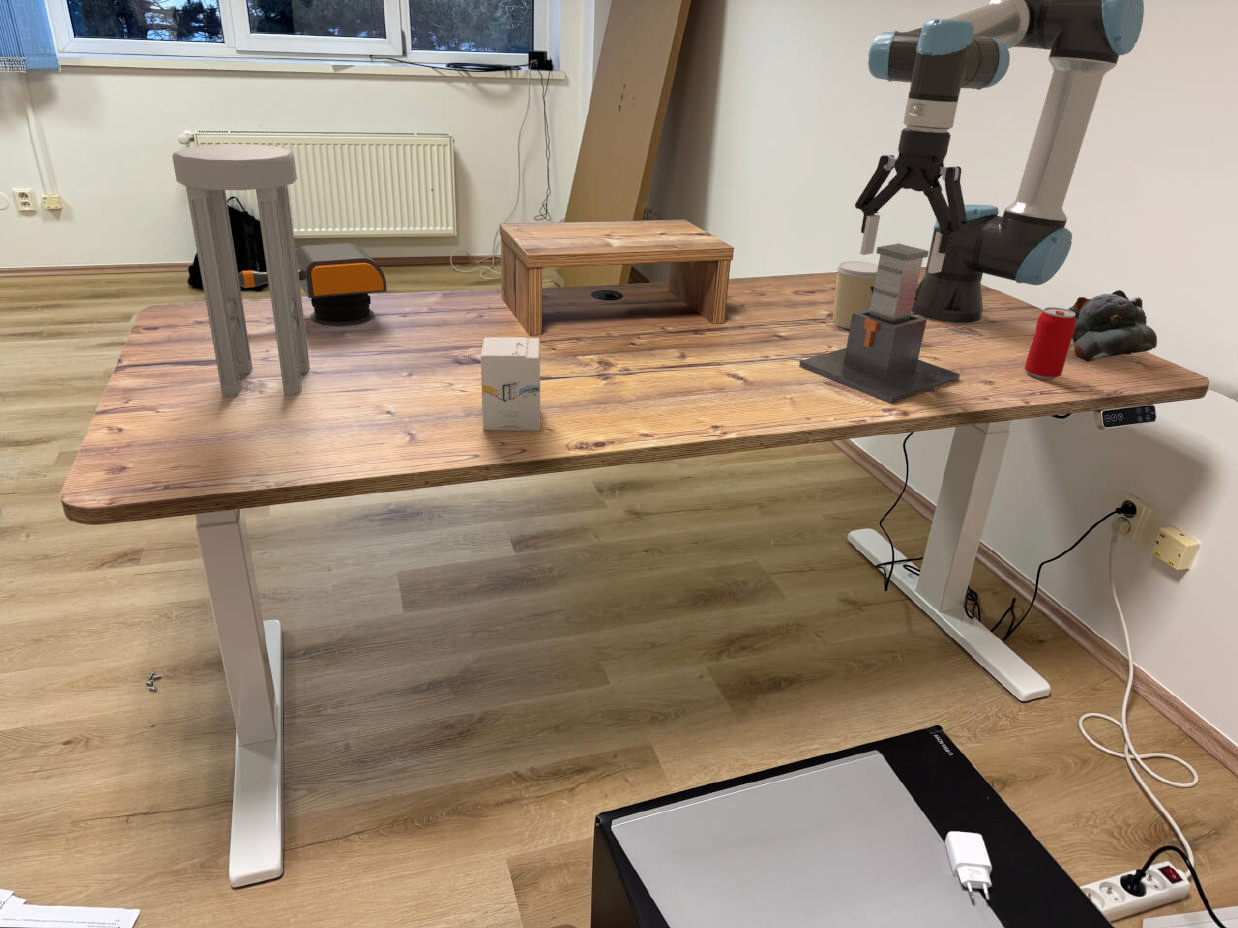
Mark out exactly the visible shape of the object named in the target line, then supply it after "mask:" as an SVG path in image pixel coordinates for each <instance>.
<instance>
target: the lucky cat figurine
mask: <svg viewBox="0 0 1238 928" xmlns="http://www.w3.org/2000/svg"><path fill="white" fill-rule="evenodd" d="M1066 309H1067V310H1070V311H1073V312H1074V313H1075V314H1076V315H1075V318H1076V326H1075V330H1074V333H1073V336H1072V340H1071V341H1072V342H1073V346H1074V349H1073V352H1074V355H1075V357H1076V358H1079V359H1081V360H1082V361H1084V362H1087V363H1089V362H1091V361H1095V360H1100V359H1101V360H1102V359H1105V358H1111V357H1115V356H1122V355H1131V354H1139V353H1144V352H1149V351H1151V350H1153V349H1155V348H1157V346H1158V339H1157V338H1158V337H1157V334H1156V332H1155V331H1154V330H1153V328H1151V327H1150V326H1149V325H1147V321H1148V320H1147V315H1146V312H1145V311H1144V309H1143V299H1142V298H1141V297H1139V296H1138V297H1137V296H1136V297H1133V298H1128V297H1127V295H1126V293H1125V292H1124V291H1123V290H1121V289H1117V290H1115V291H1114V292H1112V293H1103V294H1099V295H1096V296H1094V297H1092V298H1086V297H1084V296H1080V297H1079V296H1078V297H1077V299H1076V301H1075V303H1074V304H1073V306H1071V307H1069V308H1066Z"/></svg>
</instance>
